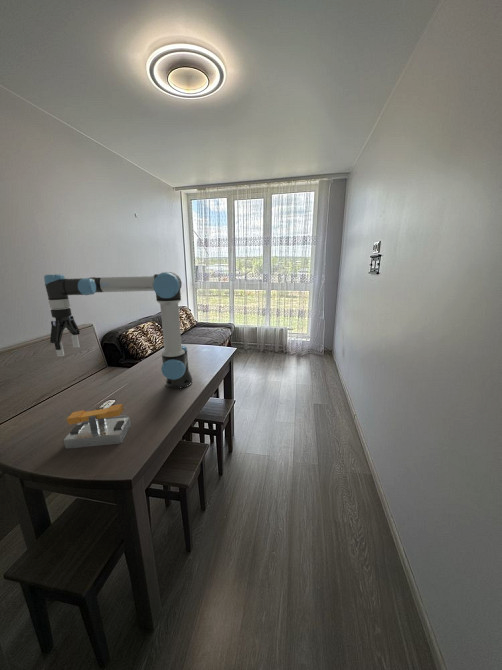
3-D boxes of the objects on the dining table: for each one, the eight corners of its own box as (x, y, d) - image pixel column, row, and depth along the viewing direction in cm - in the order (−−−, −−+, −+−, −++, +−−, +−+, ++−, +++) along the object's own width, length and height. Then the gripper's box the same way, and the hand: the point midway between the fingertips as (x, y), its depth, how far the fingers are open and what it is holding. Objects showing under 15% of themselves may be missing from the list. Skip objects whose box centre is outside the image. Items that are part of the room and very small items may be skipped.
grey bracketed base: (130, 425, 110) (127, 402, 108) (121, 443, 99) (117, 418, 96) (81, 429, 108) (76, 406, 105) (65, 448, 96) (59, 423, 93)
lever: (123, 409, 104) (122, 403, 104) (119, 415, 100) (118, 409, 99) (75, 417, 102) (73, 412, 102) (68, 424, 98) (66, 418, 97)
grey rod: (127, 418, 116) (127, 414, 115) (126, 420, 114) (125, 416, 113) (92, 421, 114) (92, 417, 113) (90, 423, 112) (89, 419, 111)
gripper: (66, 304, 129) (74, 344, 135) (33, 313, 105) (44, 360, 111) (82, 304, 130) (89, 343, 136) (52, 312, 106) (62, 359, 112)
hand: (69, 351), depth 123 cm, fingers open, 13 cm apart
